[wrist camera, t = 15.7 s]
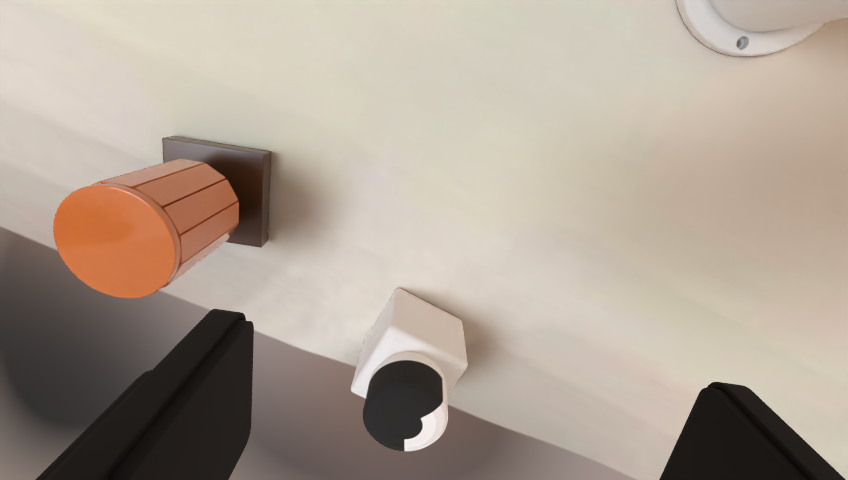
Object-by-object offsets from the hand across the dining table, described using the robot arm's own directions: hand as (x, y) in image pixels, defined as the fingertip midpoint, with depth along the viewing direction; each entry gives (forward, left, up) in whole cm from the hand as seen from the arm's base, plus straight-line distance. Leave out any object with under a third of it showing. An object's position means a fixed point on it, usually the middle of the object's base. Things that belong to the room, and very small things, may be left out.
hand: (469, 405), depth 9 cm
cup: (+5, -18, -24) cm, 30 cm away
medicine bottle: (+16, 0, -28) cm, 33 cm away
